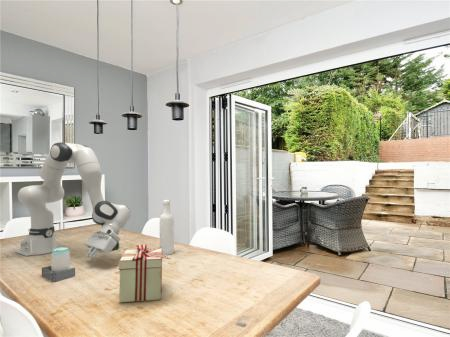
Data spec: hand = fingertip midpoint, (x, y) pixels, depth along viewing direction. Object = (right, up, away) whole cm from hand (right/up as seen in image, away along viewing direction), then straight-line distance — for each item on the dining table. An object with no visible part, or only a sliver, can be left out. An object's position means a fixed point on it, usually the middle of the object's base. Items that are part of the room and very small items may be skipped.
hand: (88, 257), depth 135 cm
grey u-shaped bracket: (-8, -5, -10) cm, 14 cm away
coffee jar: (-2, -6, +31) cm, 32 cm away
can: (-8, -5, -10) cm, 14 cm away
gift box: (+36, -5, -28) cm, 46 cm away
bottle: (+33, -5, +23) cm, 41 cm away
